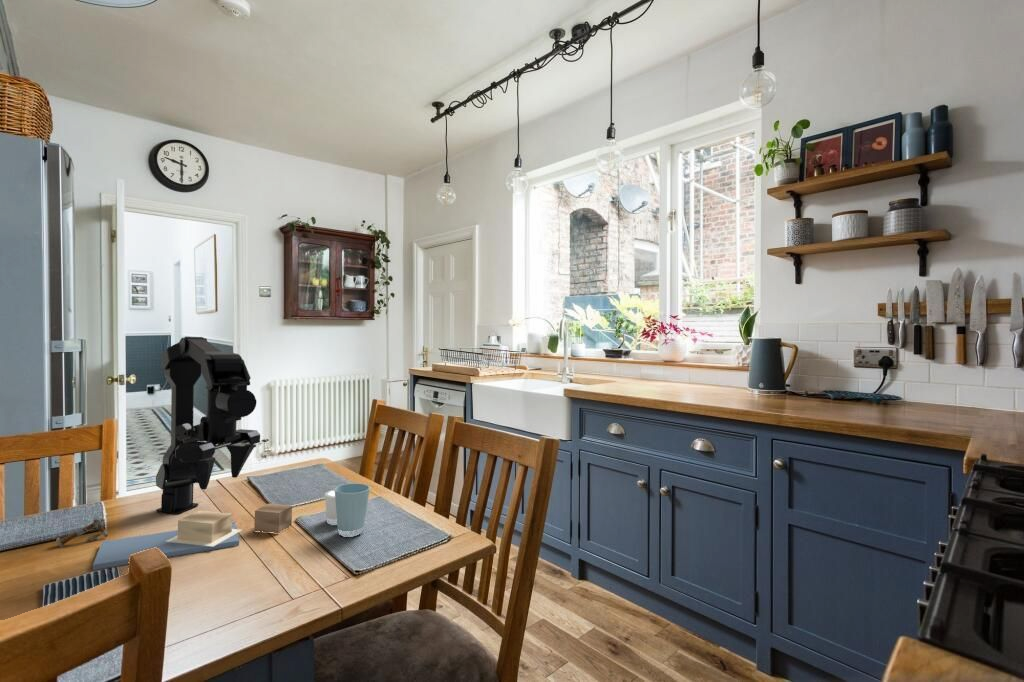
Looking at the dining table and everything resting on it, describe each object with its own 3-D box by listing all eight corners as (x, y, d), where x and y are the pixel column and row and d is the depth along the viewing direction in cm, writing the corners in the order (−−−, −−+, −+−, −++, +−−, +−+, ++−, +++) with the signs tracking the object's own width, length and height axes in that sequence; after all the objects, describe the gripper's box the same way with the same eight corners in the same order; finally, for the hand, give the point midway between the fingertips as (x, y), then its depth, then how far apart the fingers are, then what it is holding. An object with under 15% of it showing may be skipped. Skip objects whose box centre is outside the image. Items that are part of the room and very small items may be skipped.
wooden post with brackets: (113, 534, 108) (102, 517, 106) (67, 558, 103) (55, 540, 102) (112, 531, 109) (102, 514, 108) (67, 555, 104) (56, 537, 103)
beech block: (199, 528, 112) (199, 510, 112) (231, 531, 111) (232, 513, 111) (177, 539, 106) (178, 520, 106) (211, 542, 105) (212, 523, 105)
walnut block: (267, 524, 119) (268, 503, 119) (291, 526, 118) (292, 505, 118) (254, 532, 114) (254, 510, 114) (278, 535, 113) (279, 512, 113)
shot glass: (359, 519, 124) (360, 491, 124) (339, 528, 117) (340, 499, 117) (338, 514, 126) (339, 486, 126) (317, 523, 120) (318, 494, 120)
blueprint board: (91, 572, 93) (92, 566, 93) (102, 544, 104) (102, 539, 104) (245, 546, 106) (245, 540, 106) (239, 523, 118) (239, 519, 118)
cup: (350, 542, 110) (352, 495, 110) (325, 535, 113) (327, 489, 113) (375, 531, 117) (376, 486, 117) (350, 524, 120) (352, 481, 120)
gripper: (220, 404, 120) (218, 469, 120) (152, 415, 101) (150, 492, 101) (262, 406, 118) (260, 473, 118) (201, 419, 100) (199, 497, 100)
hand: (219, 483), depth 109 cm, fingers open, 9 cm apart
